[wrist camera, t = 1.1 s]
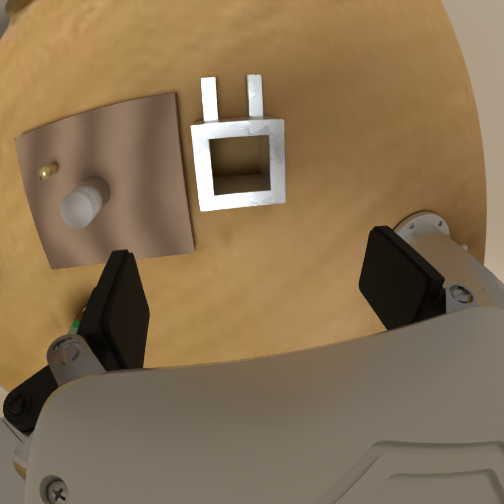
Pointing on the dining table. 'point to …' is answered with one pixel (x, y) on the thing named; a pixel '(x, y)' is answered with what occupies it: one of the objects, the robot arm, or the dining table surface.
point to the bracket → (266, 127)
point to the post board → (109, 183)
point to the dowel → (48, 170)
